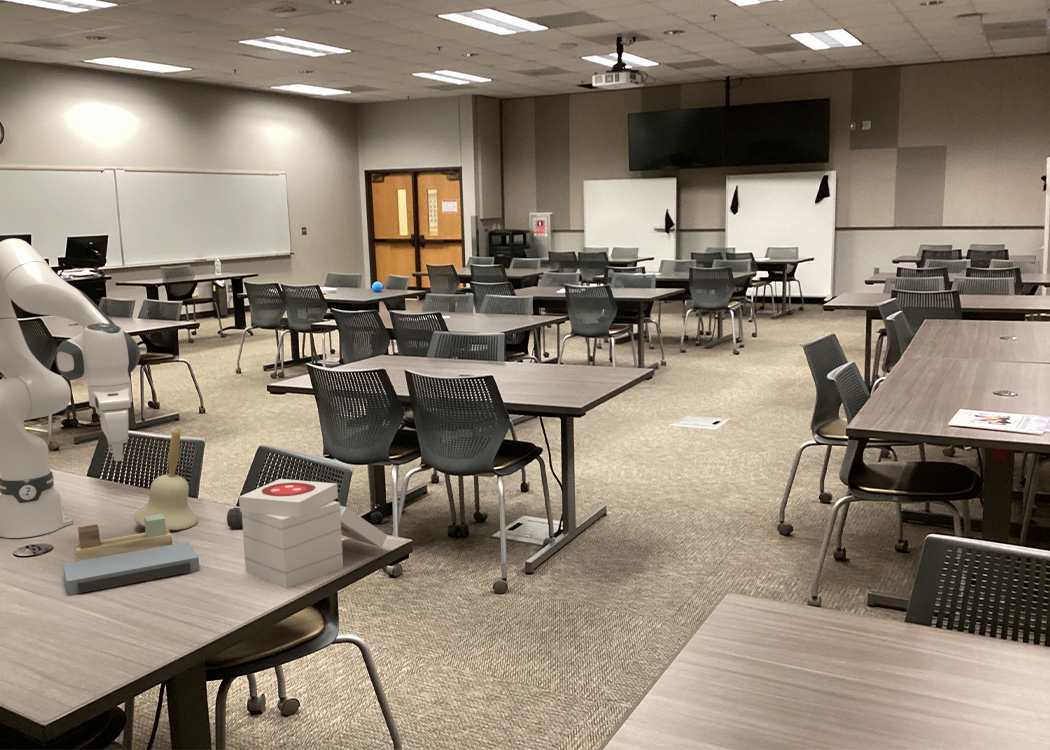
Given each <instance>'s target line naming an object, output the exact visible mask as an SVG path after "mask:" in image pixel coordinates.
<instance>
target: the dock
mask: <svg viewBox="0 0 1050 750" xmlns="http://www.w3.org/2000/svg"><path fill="white" fill-rule="evenodd" d="M190 543H191V542H190V541H186V542H185V541H184V542H180V543H175V544H174V543H172V545H167V546H162V547H156V548H150V549H144V550H139V551H133V552H127V553H121V554H116V555H110V556H104V557H98V558H93V559H87V560H81V561H77V560H76V561H71V562H66V563H64V562H63V563H62V569H63V578H64V583H65V589H66V593H67V596H70V595H71V596H72V595H77V594H81V593H87V592H92V591H93V592H94V591H98V590H103V589H108V588H113V587H114V588H115V587H119V586H124V585H125V586H126V585H130V584H134V583H140V582H144V581H145V582H146V581H150V580H156V579H160V578H167V577H171V576H172V577H173V576H176V575H177V576H178V575H181V574H187V573H192V572H197V571H200V559H199V555H198V554H197V553H196V551H195V550H194V548H193V546H192V545H191V544H190Z"/></svg>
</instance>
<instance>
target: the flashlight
mask: <svg viewBox="0 0 1050 750" xmlns="http://www.w3.org/2000/svg"><path fill="white" fill-rule="evenodd" d="M226 524H227V526H228V528H232V529H243V523H242V512H241V511H240V507H233V508H230V509H229V510H228V511H227V515H226Z"/></svg>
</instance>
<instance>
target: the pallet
mask: <svg viewBox="0 0 1050 750" xmlns="http://www.w3.org/2000/svg"><path fill="white" fill-rule="evenodd" d="M100 545H101V546H97V547H91V548H86V549H81V548H80V544H79V543H75V544H74V552H75V553H74V554H75V557H76V558H75V559H76V561H81V560H87V559H93V558H98V557H104V556H110V555H116V554H121V553H127V552H133V551H139V550H144V549H150V548H156V547H162V546H167V545H173V539H172V533H171V531H170V530H168V529H166V535H163V536H157V537H151V538H148V537H147V535H146V533H145V532H141V533H135V534H129V535H123V536H117V537H110V538H105V539H100Z"/></svg>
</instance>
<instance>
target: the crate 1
mask: <svg viewBox="0 0 1050 750" xmlns="http://www.w3.org/2000/svg"><path fill="white" fill-rule="evenodd" d="M77 532H78V533H77V534H78V542H79V543H78V544H80V548H81V549H86V548H91V547H97V546H101V545H100V540H101V535H100V528H99V525H98V523H95V524H89V525H84V526H78V527H77Z"/></svg>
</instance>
